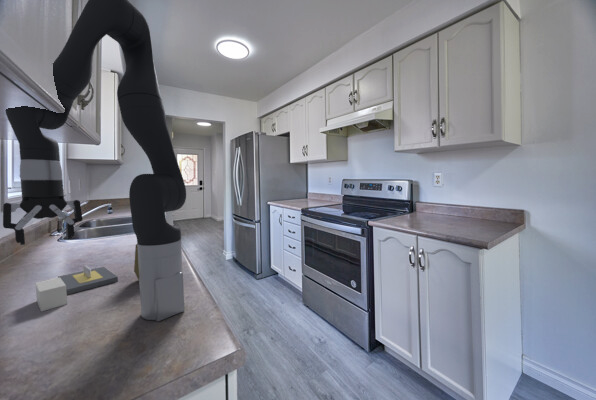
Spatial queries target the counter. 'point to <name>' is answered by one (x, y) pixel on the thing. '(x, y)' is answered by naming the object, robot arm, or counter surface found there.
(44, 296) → the block
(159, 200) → the robot arm
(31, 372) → the counter surface
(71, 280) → the board
